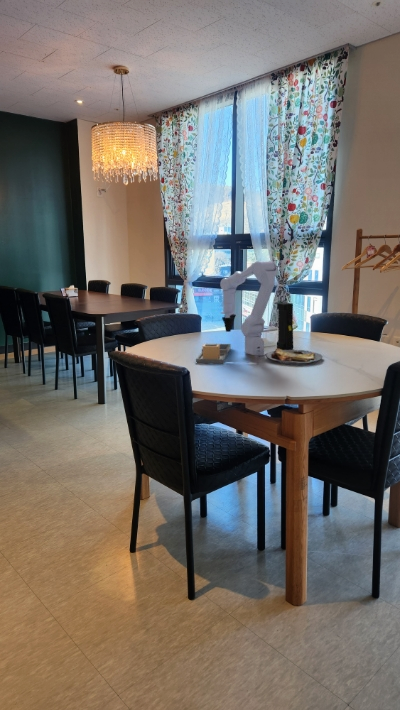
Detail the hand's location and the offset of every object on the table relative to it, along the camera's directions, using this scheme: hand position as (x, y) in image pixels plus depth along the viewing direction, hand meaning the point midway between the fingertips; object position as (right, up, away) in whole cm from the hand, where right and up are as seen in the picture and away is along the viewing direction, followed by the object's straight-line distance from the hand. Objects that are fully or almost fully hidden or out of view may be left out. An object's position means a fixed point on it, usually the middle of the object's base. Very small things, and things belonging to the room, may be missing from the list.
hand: (229, 330), depth 236 cm
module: (-9, -14, -22) cm, 28 cm away
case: (-7, -11, -7) cm, 15 cm away
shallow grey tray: (-9, -15, -22) cm, 28 cm away
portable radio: (+28, -9, -1) cm, 29 cm away
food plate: (+27, -15, -24) cm, 39 cm away
